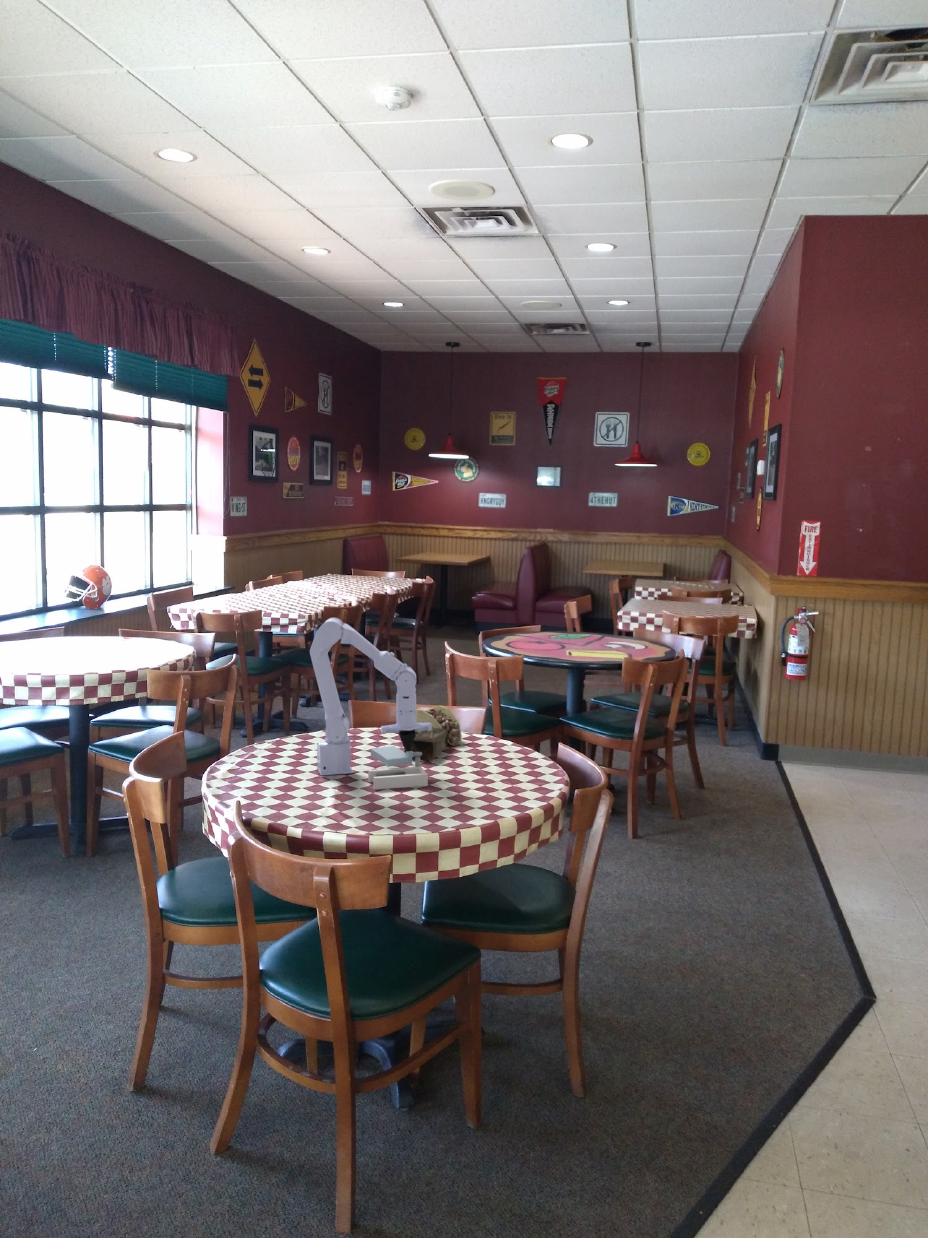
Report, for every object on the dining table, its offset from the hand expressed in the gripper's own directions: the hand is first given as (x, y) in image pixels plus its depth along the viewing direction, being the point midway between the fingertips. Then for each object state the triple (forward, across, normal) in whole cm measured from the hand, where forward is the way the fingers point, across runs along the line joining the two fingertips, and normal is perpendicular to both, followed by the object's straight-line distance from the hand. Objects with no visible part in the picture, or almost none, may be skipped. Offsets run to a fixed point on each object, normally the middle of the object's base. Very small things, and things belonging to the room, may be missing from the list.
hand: (406, 756), depth 265 cm
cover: (+1, -3, 0) cm, 3 cm away
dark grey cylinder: (+4, -7, -10) cm, 13 cm away
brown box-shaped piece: (+5, +12, +19) cm, 23 cm away
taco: (+5, +18, +37) cm, 41 cm away
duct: (+4, -5, -11) cm, 13 cm away
